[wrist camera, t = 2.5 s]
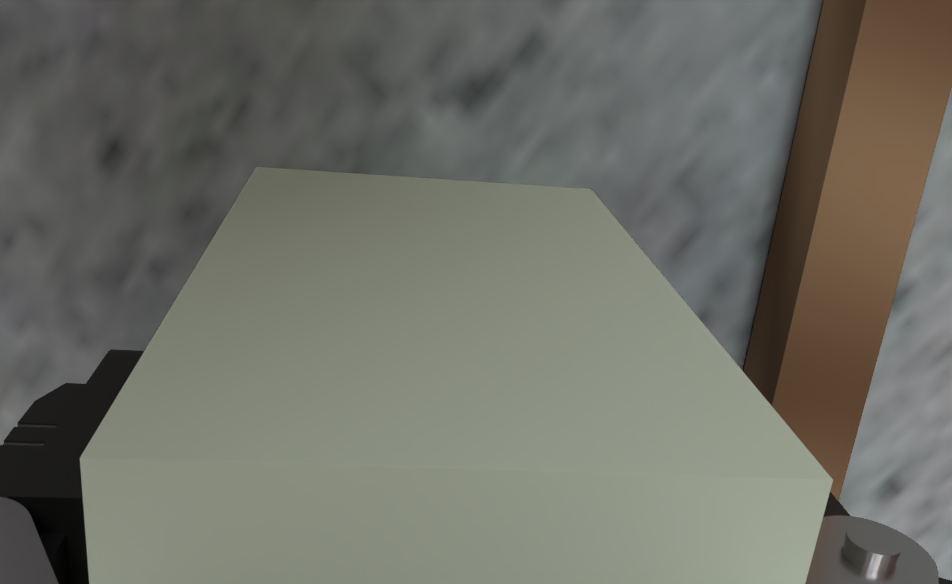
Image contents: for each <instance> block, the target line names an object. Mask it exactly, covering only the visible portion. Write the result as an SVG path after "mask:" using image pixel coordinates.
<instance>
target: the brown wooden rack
mask: <svg viewBox="0 0 952 584" xmlns="http://www.w3.org/2000/svg"><path fill="white" fill-rule="evenodd" d="M951 87H952V0H824V2H823V6H822V11H821V16H820V20H819V25H818V29H817V34H816V39H815V43H814V48H813V53H812V57H811V62H810V66H809V71H808V76H807V80H806V85H805V90H804V94H803V99H802V103H801V108H800V113H799V117H798V122H797V126H796V131H795V136H794V140H793V145H792V150H791V154H790V159H789V163H788V168H787V173H786V177H785V182H784V186H783V191H782V196H781V200H780V205H779V210H778V214H777V219H776V223H775V228H774V233H773V237H772V242H771V247H770V251H769V256H768V260H767V265H766V270H765V274H764V279H763V283H762V288H761V293H760V297H759V302H758V307H757V311H756V316H755V320H754V325H753V330H752V334H751V339H750V343H749V348H748V353H747V357H746V362H745V367H744V371H743V372H744V373H745V375H746V376H747V377H748V378H749V379H750V381H751V382H752V383H753V384H754V385H755V387H756V388H757V389H758V390H759V391H760V393H761V394H762V395H763V396H764V397H765V399H766V400H767V401H768V402H769V403H770V405H771V406H772V407H773V408H774V409H775V411H776V412H777V413H778V414H779V415H780V417H781V418H782V419H783V420H784V421H785V423H786V424H787V425H788V426H789V427H790V429H791V430H792V431H793V432H794V433H795V435H796V436H797V437H798V438H799V439H800V441H801V442H802V443H803V444H804V445H805V447H806V448H807V449H808V450H809V452H810V453H811V454H812V455H813V456H814V458H815V459H816V460H817V461H818V462H819V464H820V465H821V466H822V467H823V468H824V470H825V471H826V472H827V473H828V474H829V476H830V477H831V478H832V479H833V482H832V486H831V490H830V492H831V493H832V494H833V495H834V497H835V498H836V499H837V500H839V496H840V493H841V489H842V485H843V482H844V478H845V474H846V471H847V467H848V463H849V460H850V456H851V453H852V449H853V445H854V442H855V438H856V434H857V431H858V427H859V423H860V420H861V416H862V412H863V409H864V405H865V401H866V398H867V394H868V390H869V387H870V383H871V379H872V376H873V372H874V368H875V365H876V361H877V357H878V354H879V350H880V346H881V343H882V339H883V335H884V332H885V328H886V325H887V321H888V317H889V314H890V310H891V306H892V303H893V299H894V295H895V292H896V288H897V284H898V281H899V277H900V273H901V270H902V266H903V262H904V259H905V255H906V251H907V248H908V244H909V240H910V237H911V233H912V229H913V226H914V222H915V218H916V215H917V211H918V207H919V204H920V200H921V197H922V193H923V189H924V186H925V182H926V178H927V175H928V171H929V167H930V164H931V160H932V156H933V153H934V149H935V145H936V142H937V138H938V134H939V131H940V127H941V123H942V120H943V116H944V112H945V109H946V105H947V101H948V98H949V94H950V90H951Z"/></svg>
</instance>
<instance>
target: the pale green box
mask: <svg viewBox="0 0 952 584" xmlns="http://www.w3.org/2000/svg"><path fill="white" fill-rule="evenodd" d="M80 469H81V482H82V495H83V508H84V522H85V535H86V548H87V561H88V574H89V584H805V583H806V579H807V575H808V572H809V568H810V564H811V560H812V557H813V553H814V549H815V546H816V542H817V538H818V534H819V531H820V527H821V523H822V520H823V516H824V512H825V508H826V505H827V501H828V497H829V493H830V490H831V486H832V482H833V479H832V478H831V477H830V476H829V474H828V473H827V472H826V471H825V470H824V468H823V467H822V466H821V465H820V464H819V462H818V461H817V460H816V459H815V458H814V456H813V455H812V454H811V453H810V452H809V450H808V449H807V448H806V447H805V445H804V444H803V443H802V442H801V441H800V439H799V438H798V437H797V436H796V435H795V433H794V432H793V431H792V430H791V429H790V427H789V426H788V425H787V424H786V423H785V421H784V420H783V419H782V418H781V417H780V415H779V414H778V413H777V412H776V411H775V409H774V408H773V407H772V406H771V405H770V403H769V402H768V401H767V400H766V399H765V397H764V396H763V395H762V394H761V393H760V391H759V390H758V389H757V388H756V387H755V385H754V384H753V383H752V382H751V381H750V379H749V378H748V377H747V376H746V375H745V373H744V372H743V371H742V370H741V369H740V367H739V366H738V365H737V364H736V363H735V361H734V360H733V359H732V358H731V357H730V355H729V354H728V353H727V352H726V351H725V349H724V348H723V347H722V346H721V345H720V343H719V342H718V341H717V340H716V339H715V337H714V336H713V335H712V334H711V333H710V331H709V330H708V329H707V328H706V327H705V325H704V324H703V323H702V322H701V321H700V319H699V318H698V317H697V316H696V314H695V313H694V312H693V311H692V310H691V308H690V307H689V306H688V305H687V304H686V302H685V301H684V300H683V299H682V298H681V296H680V295H679V294H678V293H677V292H676V290H675V289H674V288H673V287H672V286H671V284H670V283H669V282H668V281H667V280H666V278H665V277H664V276H663V275H662V274H661V272H660V271H659V270H658V269H657V268H656V266H655V265H654V264H653V263H652V262H651V260H650V259H649V258H648V257H647V256H646V254H645V253H644V252H643V251H642V250H641V248H640V247H639V246H638V245H637V244H636V242H635V241H634V240H633V239H632V238H631V236H630V235H629V234H628V233H627V232H626V230H625V229H624V228H623V227H622V226H621V224H620V223H619V222H618V221H617V220H616V218H615V217H614V216H613V215H612V214H611V212H610V211H609V210H608V209H607V208H606V206H605V205H604V204H603V203H602V202H601V200H600V199H599V198H598V197H597V196H596V194H595V193H594V192H593V191H592V190H591V189H582V188H567V187H552V186H537V185H522V184H507V183H492V182H477V181H462V180H447V179H432V178H417V177H402V176H387V175H372V174H357V173H342V172H327V171H312V170H297V169H282V168H267V167H256V168H255V169H254V171H253V173H252V174H251V176H250V177H249V179H248V181H247V182H246V184H245V186H244V187H243V189H242V191H241V192H240V194H239V196H238V197H237V199H236V201H235V202H234V204H233V206H232V207H231V209H230V211H229V212H228V214H227V215H226V217H225V219H224V220H223V222H222V224H221V225H220V227H219V229H218V230H217V232H216V234H215V235H214V237H213V239H212V240H211V242H210V244H209V245H208V247H207V249H206V250H205V252H204V253H203V255H202V257H201V258H200V260H199V262H198V263H197V265H196V267H195V268H194V270H193V272H192V273H191V275H190V277H189V278H188V280H187V282H186V283H185V285H184V287H183V288H182V290H181V291H180V293H179V295H178V296H177V298H176V300H175V301H174V303H173V305H172V306H171V308H170V310H169V311H168V313H167V315H166V316H165V318H164V320H163V321H162V323H161V325H160V326H159V328H158V329H157V331H156V333H155V334H154V336H153V338H152V339H151V341H150V343H149V344H148V346H147V348H146V349H145V351H144V353H143V354H142V356H141V358H140V359H139V361H138V363H137V364H136V366H135V368H134V369H133V371H132V372H131V374H130V376H129V377H128V379H127V381H126V382H125V384H124V386H123V387H122V389H121V391H120V392H119V394H118V396H117V397H116V399H115V401H114V402H113V404H112V406H111V407H110V409H109V410H108V412H107V414H106V415H105V417H104V419H103V420H102V422H101V424H100V425H99V427H98V429H97V430H96V432H95V434H94V435H93V437H92V439H91V440H90V442H89V444H88V445H87V447H86V448H85V450H84V452H83V453H82V455H81V457H80Z"/></svg>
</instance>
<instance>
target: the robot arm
mask: <svg viewBox="0 0 952 584" xmlns="http://www.w3.org/2000/svg"><path fill="white" fill-rule="evenodd" d="M143 353H144V351H134V350H110V351H109V352H108V353H107V354H106V356H105V357H104V359H103V360H102V362H101V363H100V364H99V366H98V367H97V369H96V370H95V372H94V373H93V374H92V376H91V377H90V379H89V380H88V382H87V383H86V384H72V383H65V384H64V385H62V386H60V387H58V388H57V389H55V390H53V391H52V392H50V393H48V394H46V395H45V396H43V397H41V398H39V399H38V400H36V401H35V402H34V403H33V404H32V405H31V407H30V408H29V409H28V410H27V412H26V413H25V414H24V416H23V417H22V418H21V419H20V421H19V422H18V427H14V428H13V430H12V431H11V432H10V433H9V435H8V436H7V437H6V439H5V440H4V444H3V445H0V584H89V574H88V561H87V548H86V535H85V522H84V508H83V495H82V482H81V469H80V457H81V455H82V453H83V452H84V450H85V448H86V447H87V445H88V444H89V442H90V440H91V439H92V437H93V435H94V434H95V432H96V430H97V429H98V427H99V425H100V424H101V422H102V420H103V419H104V417H105V415H106V414H107V412H108V410H109V409H110V407H111V406H112V404H113V402H114V401H115V399H116V397H117V396H118V394H119V392H120V391H121V389H122V387H123V386H124V384H125V382H126V381H127V379H128V377H129V376H130V374H131V372H132V371H133V369H134V368H135V366H136V364H137V363H138V361H139V359H140V358H141V356H142V354H143ZM805 584H952V581H950V580H946V579H942V578H939V577H938V570H937V566H936V564H935V562H934V560H933V559H932V557H931V556H930V555H929V553H928V552H927V551H926V550H924V549H923V548H922V547H921V546H920V545H919V544H918V543H916V542H915V541H914V540H912V539H911V538H909V537H908V536H906V535H904V534H903V533H901V532H899V531H897V530H895V529H893V528H890V527H888V526H886V525H883V524H881V523H878V522H875V521H871V520H868V519H864V518H859V517H853V516H850V515H849V514H848V513H847V511H846V510H845V509H844V508H843V506H842V505H841V504H840V503H839V502H838V500H837V499H836V498H835V497H834V495H833V494H832V493H831V492H830V493H829V497H828V501H827V505H826V508H825V512H824V516H823V520H822V523H821V527H820V531H819V534H818V538H817V542H816V546H815V549H814V553H813V557H812V560H811V564H810V568H809V572H808V575H807V579H806V583H805Z"/></svg>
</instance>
